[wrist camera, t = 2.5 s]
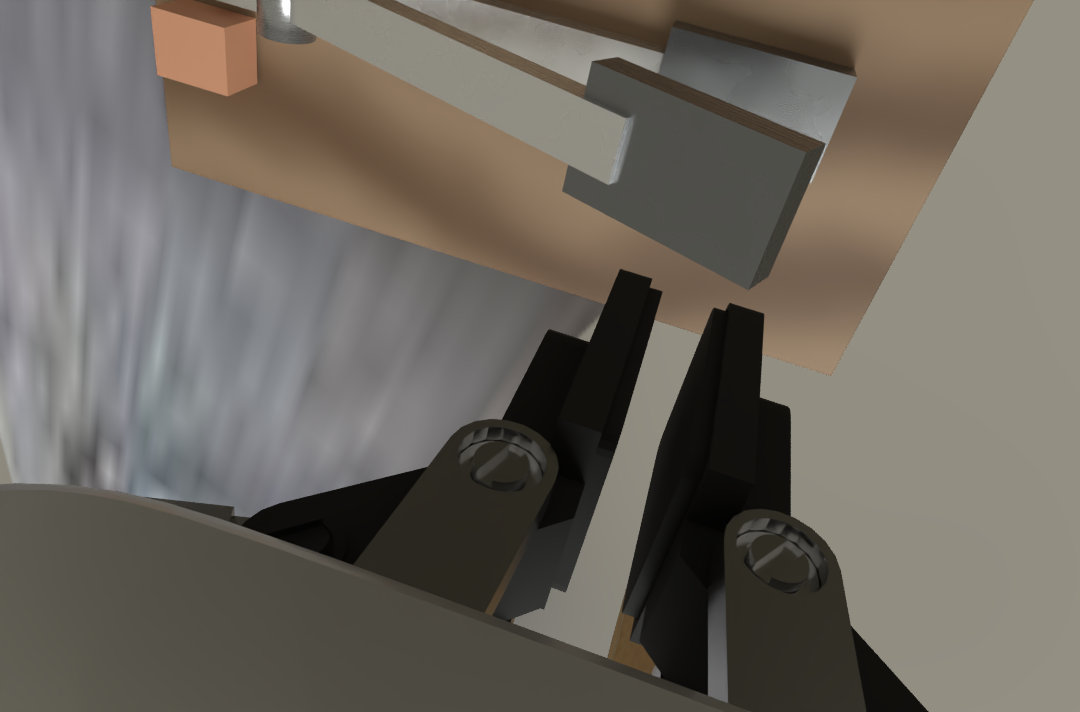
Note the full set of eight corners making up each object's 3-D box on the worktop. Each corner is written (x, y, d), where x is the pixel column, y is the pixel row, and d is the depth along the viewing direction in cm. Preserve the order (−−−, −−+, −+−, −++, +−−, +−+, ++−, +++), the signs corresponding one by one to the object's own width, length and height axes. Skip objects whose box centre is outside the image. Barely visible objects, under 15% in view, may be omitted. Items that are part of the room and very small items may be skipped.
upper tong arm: (293, 30, 28) (245, 33, 27) (293, -79, 26) (241, -82, 25) (770, 275, 20) (735, 299, 18) (827, 143, 18) (793, 158, 16)
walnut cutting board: (155, -405, 24) (114, -421, 23) (1112, -186, 21) (1136, -189, 20) (197, 153, 36) (172, 166, 34) (829, 352, 32) (831, 376, 31)
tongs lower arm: (223, 1, 29) (203, 6, 28) (218, -105, 27) (197, -104, 26) (810, 171, 27) (811, 183, 26) (854, 68, 25) (857, 77, 24)
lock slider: (190, 63, 31) (157, 75, 29) (185, -3, 29) (150, 6, 28) (257, 83, 30) (227, 96, 29) (255, 18, 29) (224, 27, 27)
